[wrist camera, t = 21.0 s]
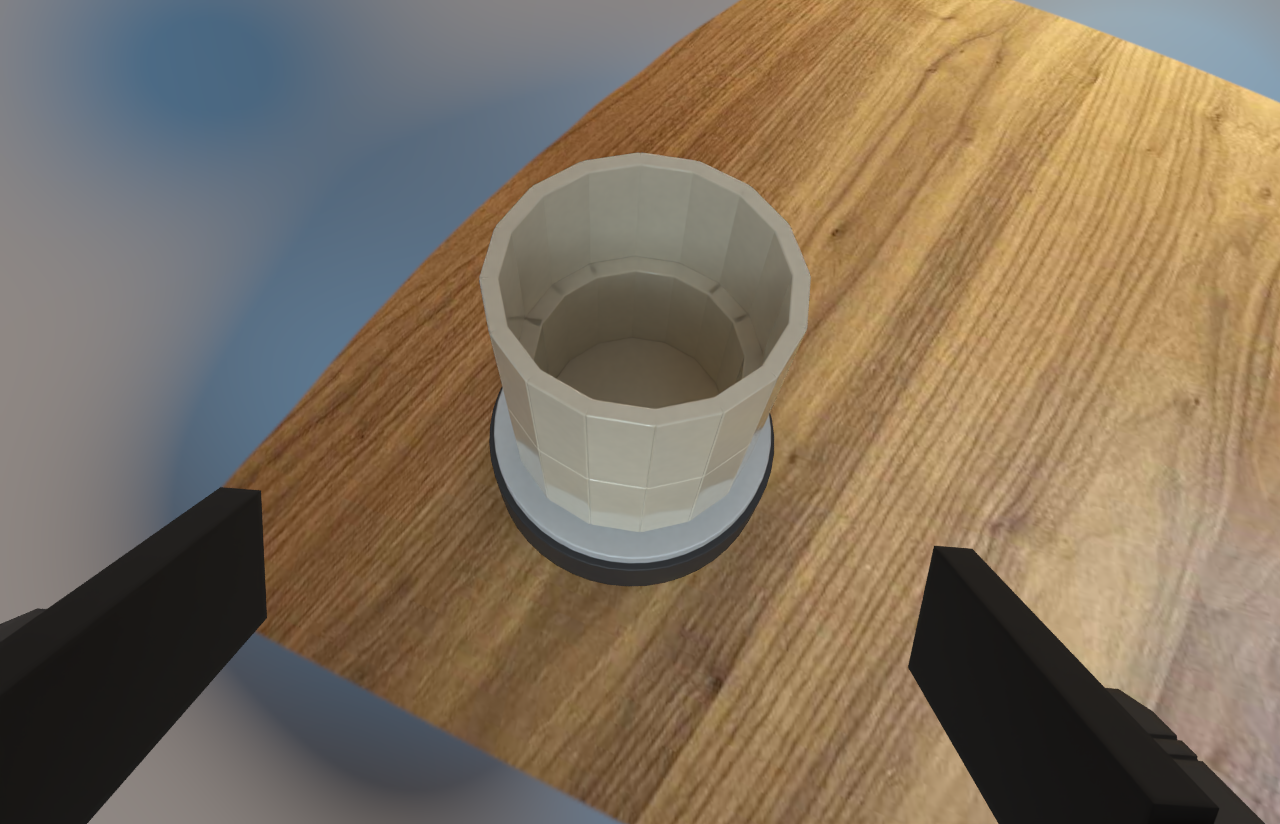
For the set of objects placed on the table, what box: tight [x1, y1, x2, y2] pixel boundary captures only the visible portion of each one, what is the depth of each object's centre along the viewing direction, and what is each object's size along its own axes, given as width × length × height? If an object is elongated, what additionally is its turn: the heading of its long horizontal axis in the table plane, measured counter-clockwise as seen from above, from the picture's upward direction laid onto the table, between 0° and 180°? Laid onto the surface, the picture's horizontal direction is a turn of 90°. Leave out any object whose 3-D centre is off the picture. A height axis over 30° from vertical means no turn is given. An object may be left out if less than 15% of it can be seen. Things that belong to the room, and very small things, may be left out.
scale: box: [489, 387, 774, 586], centre depth 36 cm, size 13×13×4 cm
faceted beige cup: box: [479, 153, 811, 532], centre depth 29 cm, size 10×10×11 cm
